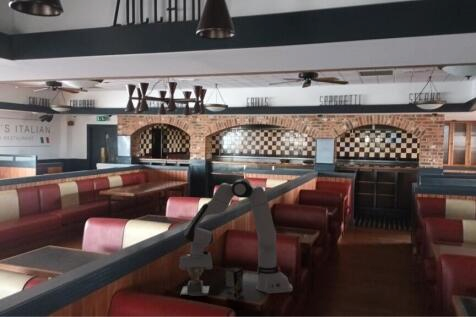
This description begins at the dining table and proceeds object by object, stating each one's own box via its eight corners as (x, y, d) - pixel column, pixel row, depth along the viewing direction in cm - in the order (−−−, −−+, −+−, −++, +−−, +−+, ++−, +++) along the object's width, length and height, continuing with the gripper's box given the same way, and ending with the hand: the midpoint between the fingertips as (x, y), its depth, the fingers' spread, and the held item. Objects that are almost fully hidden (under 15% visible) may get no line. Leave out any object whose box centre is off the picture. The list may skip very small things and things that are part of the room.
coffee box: (235, 300, 224) (235, 272, 224) (225, 298, 227) (225, 270, 227) (243, 295, 232) (243, 268, 231) (234, 293, 235) (233, 266, 235)
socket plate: (209, 288, 244) (209, 279, 244) (207, 295, 232) (207, 286, 232) (183, 288, 244) (183, 279, 244) (180, 295, 232) (180, 286, 232)
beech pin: (199, 285, 240) (199, 268, 240) (198, 288, 235) (198, 270, 235) (192, 286, 240) (191, 268, 240) (191, 288, 236) (190, 270, 235)
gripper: (179, 252, 244) (177, 273, 235) (212, 252, 244) (211, 272, 235) (180, 257, 249) (178, 278, 239) (213, 257, 249) (212, 277, 239)
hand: (195, 275), depth 237 cm, fingers closed on beech pin, 4 cm apart
